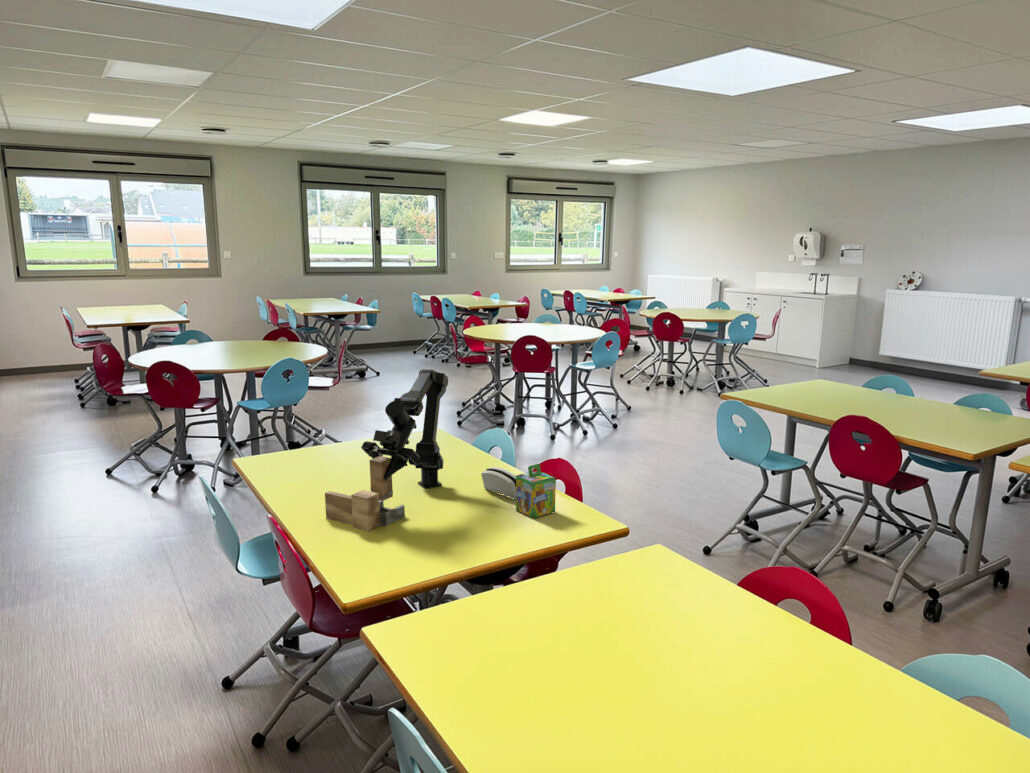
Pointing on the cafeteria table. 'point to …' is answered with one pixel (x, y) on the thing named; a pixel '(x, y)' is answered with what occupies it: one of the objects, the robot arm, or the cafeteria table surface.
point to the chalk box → (535, 492)
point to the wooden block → (380, 477)
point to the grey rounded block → (500, 481)
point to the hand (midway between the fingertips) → (378, 477)
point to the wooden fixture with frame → (361, 510)
